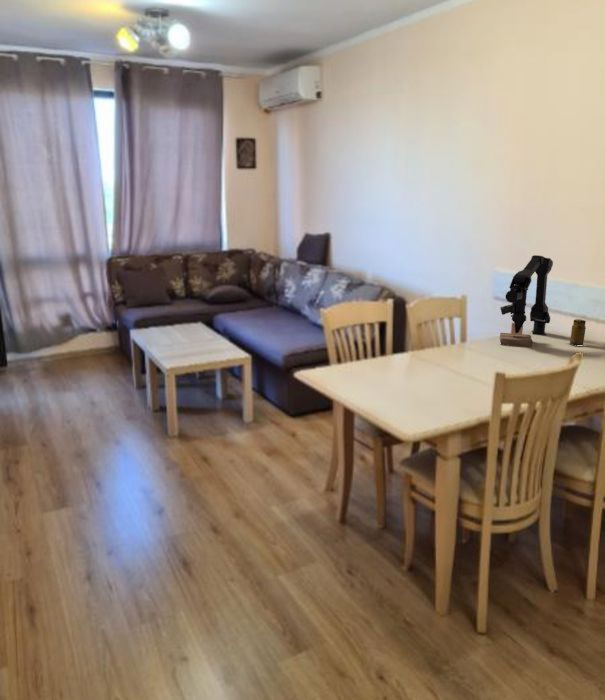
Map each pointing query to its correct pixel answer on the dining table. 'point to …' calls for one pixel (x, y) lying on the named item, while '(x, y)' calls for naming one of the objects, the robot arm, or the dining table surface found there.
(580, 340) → the condiment
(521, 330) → the cube
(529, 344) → the base plinth
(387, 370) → the dining table surface
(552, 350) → the dining table surface
